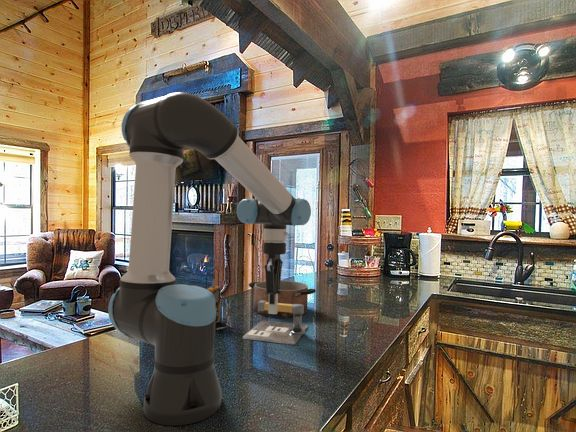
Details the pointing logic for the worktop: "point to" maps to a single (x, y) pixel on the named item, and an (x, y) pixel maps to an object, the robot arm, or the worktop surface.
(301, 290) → the cooking pot
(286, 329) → the label
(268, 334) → the label
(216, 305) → the multimeter
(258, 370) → the worktop surface
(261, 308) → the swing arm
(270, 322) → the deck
